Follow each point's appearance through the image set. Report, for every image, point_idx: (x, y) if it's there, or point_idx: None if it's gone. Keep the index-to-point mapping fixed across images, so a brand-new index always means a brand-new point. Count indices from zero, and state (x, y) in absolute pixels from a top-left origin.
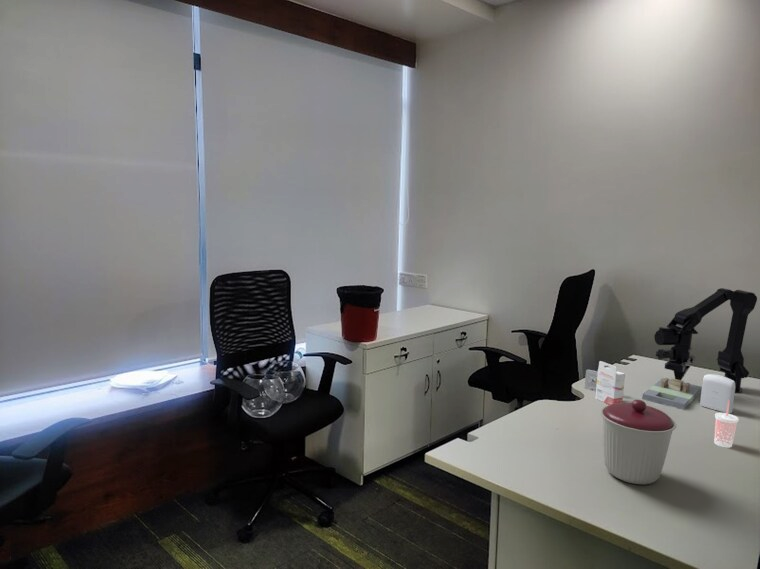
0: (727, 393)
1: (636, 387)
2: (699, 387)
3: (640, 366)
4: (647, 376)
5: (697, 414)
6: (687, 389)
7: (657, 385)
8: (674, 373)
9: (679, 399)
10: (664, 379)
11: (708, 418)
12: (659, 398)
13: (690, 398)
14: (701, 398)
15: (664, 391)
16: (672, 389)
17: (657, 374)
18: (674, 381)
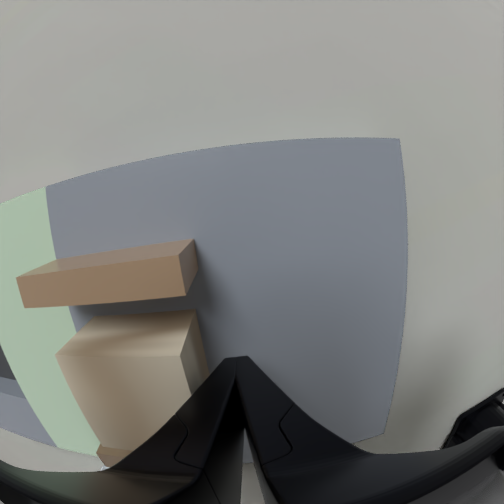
0: None
1: (51, 82)
2: (351, 438)
3: (493, 10)
4: (406, 28)
5: (27, 447)
6: None
7: (71, 212)
8: (153, 439)
9: (8, 409)
10: (88, 275)
11: (38, 468)
12: None
13: (76, 450)
14: None
15: (11, 318)
16: None
17: (487, 84)
18: (90, 401)
